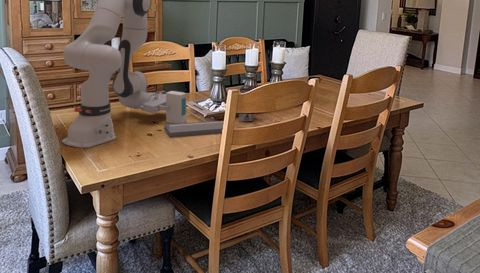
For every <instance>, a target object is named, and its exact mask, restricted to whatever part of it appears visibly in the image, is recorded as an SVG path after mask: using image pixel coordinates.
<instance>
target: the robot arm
mask: <svg viewBox="0 0 480 273" xmlns="http://www.w3.org/2000/svg"><path fill="white" fill-rule="evenodd" d="M151 3H152V2H151V0H98V2H97V4H96V5H95V6H96V7H95V9H94V11H93V14H92V17H91V19H90V21H89V23H88V25H87V27H86V28H85V29H84V31H83V32H82V33H81V35H80V36H78V37H77V38H76V39H75V40H73V41H72V42H70V43H68V44H66V46H65V47H64V49H63V54H62V55H63V56H62V57H63V60H64V62H65V64H66V65H67V66H69V67H71V68H74V69H78V70H84V71H89V76H88V79H87V80H85V81H83V82H82V83H81V84H80V102H81V103H80V106H79V107H78V106H75V107H74V109H73V111H74V112H75V113H78V115H77V116H76V117H75V119H74V120H73V121H72V122H71V124H70V125H69V126H68V129H67V137H65V138H63V139H62V140H61V141H62V143H63V144H64V145H67V146H69V147H73V148H83V149H85V148H86V149H88V148H92V147H94V146H98V145H101V144H104V143H107V142H111V141H114V140H116V139H117V136H116V133H115V131H114V124H113V119H112V116H111V111H112V110H111V107H112V106H111V102H110V99H109V98H110V96H109V95H110V94H109V91H110V88H109V87H110V82H111V79H112V76H113V75H114V77H113V80H112V85H111V86H112V89H113V92H114V93H115V94H116V95H117V96H118V101H119V103H120V104H121V105H122V106H123V107H126V108H130V109H134V110H141V111H143V112H146V113H151V114H155V113H158V112H161V111H165V112H166V111H168V110H170V106H166V93H163V92H148V91H147V89H148V88H147V87H148V80H147V76H146V75H145V74H144V73H143V72H142V71H139V70H135V71H131V72H130V70H131V60H132V57H133V55H134V54H135V52H136V51H138V49H140V48H141V47H143V45H144V44H145V43H146V42H147V38H148V16H147V15H148V12H150V9H151ZM122 17H123V19H122ZM121 21H122V34H121V39H120V42H119V45H118V48H116V47H114V46H111V45H109V44H106V43H108V42H109V41H111V40H113V39H114V38H115V37H116V35H117V33H118V30H119V28H120V25H121V24H120V23H121Z"/></svg>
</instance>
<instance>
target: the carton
mask: <svg viewBox="0 0 480 273" xmlns="http://www.w3.org/2000/svg"><path fill="white" fill-rule="evenodd" d="M165 94H166V106H170V110H168V111H166V110H165V117H166V118H165V122H166V123H169V124H178V123H187V93H186V92H183V91H177V90H170V91H167V92H165Z"/></svg>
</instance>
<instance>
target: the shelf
mask: <svg viewBox="0 0 480 273" xmlns="http://www.w3.org/2000/svg"><path fill="white" fill-rule="evenodd" d="M224 121H225V120H224ZM224 121H219V120H209V121H207V120H206V121H193V122H192V121H191V122H185V123H178V124H174V123H169V124H168V123H166V124H164V125H163V126H164V127H163V128H164V131H165V132H166V133H167V135H168V136H169V138H177V137H186V136H187V137H188V136H200V135H212V134H223V133H222V129H223V122H224Z"/></svg>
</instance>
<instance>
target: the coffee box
mask: <svg viewBox="0 0 480 273" xmlns="http://www.w3.org/2000/svg"><path fill="white" fill-rule="evenodd" d="M254 88H256V89H257V85H253V84H252V85H251V84H244V85H242V86H241V87H240V88H239V93H240V92H241V93H244V92H247V91H250V90H252V89H254ZM238 116H239V117H238V121H239V120H241V121H252V120H253V121H254V119H255V118H256V113H255V114H238ZM254 117H255V118H254ZM253 118H254V119H253ZM241 121H240V122H241ZM253 121H252V122H253Z"/></svg>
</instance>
